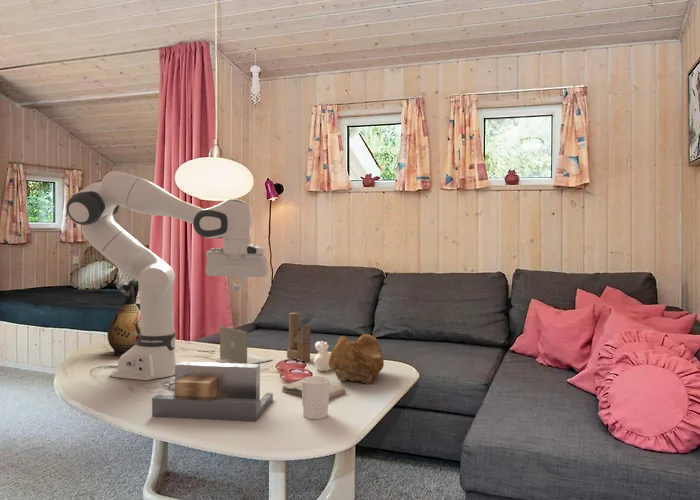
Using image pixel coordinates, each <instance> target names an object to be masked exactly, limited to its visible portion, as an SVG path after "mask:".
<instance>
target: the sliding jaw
mask: <svg viewBox="0 0 700 500" xmlns="http://www.w3.org/2000/svg"><path fill="white" fill-rule="evenodd" d="M176 363H177V364H175V375H174V382H175V381H177V380H178V379H180V378H181V377H183V376H193V377H217V398H233V399H256V400H259V401H260V400H261V395H260V394H261V393H260V392H261V363H259V364H255V363H254V364H238V363H235V362H211V361H210V362H208V361H206V362H205V361H203V362H202V361H178V362H176Z"/></svg>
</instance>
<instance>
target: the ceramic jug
mask: <svg viewBox="0 0 700 500" xmlns="http://www.w3.org/2000/svg"><path fill="white" fill-rule="evenodd" d="M119 292H120V293H121V294H123V295H124V296H125V300H124V302H123V305H121V307H120V308H119V310H118V311H117V312H116V313H115V315H114V316H113V318H112V320H111V321H110V323H109V327H108V329H107V337H106V338H107V341H108V344H109V345H110V347H111V348H112V350H113V351H114V355H115V356H117V357H121V356H122V355H123V354H124V353H126V352H127V351H128V350H129V349H131V348H132V347H133V346H135V345H136V340H135V341H133V340H134V339H135V338H134V337H136V336H137V335H139V334H140V333H141V310H140V307H138V305H137V304H136V303H137V297H138V295H139V286H138V281H137V280H136V279H135V278H133V279H130V280H129V282H128V285H127V284H122V285H121V286H120V287H119Z"/></svg>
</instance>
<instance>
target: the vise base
mask: <svg viewBox="0 0 700 500" xmlns="http://www.w3.org/2000/svg"><path fill="white" fill-rule="evenodd" d="M273 397H274V394H273V392H266V393H265V394H264V395H263V396H262V397H261V398H260V401H259V400H256V399H233V398H211V397H188V396H175V392H173V394H171V395H160V394H157V395H155V396H153V397H152V398H151V417H156V418H174V419H196V420H198V419H199V420H217V421H218V420H219V421H235V422H236V421H238V422H239V421H240V422H257V421H258V420H259V418H260V417H261V415H262V414H263V413H264V412H265V410H267V407H268V406H269V405H270V404H271V403H272V401H273V399H274V398H273Z"/></svg>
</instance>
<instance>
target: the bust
mask: <svg viewBox="0 0 700 500" xmlns="http://www.w3.org/2000/svg"><path fill="white" fill-rule="evenodd" d="M314 348H315V349H316V351H317V354H316V355H315V357H314V359H313V361H312V362H313V363H314V367H315V369H318V370H319V371H320V372H328V371H331V370H333V369H332V368H330V367H329V359H330V356H331V353H332V351H328V349H329V348H330V346H329V344H328V343H327V341H324V340H321V341H320V340H319V341H316V342H315V343H314Z"/></svg>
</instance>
